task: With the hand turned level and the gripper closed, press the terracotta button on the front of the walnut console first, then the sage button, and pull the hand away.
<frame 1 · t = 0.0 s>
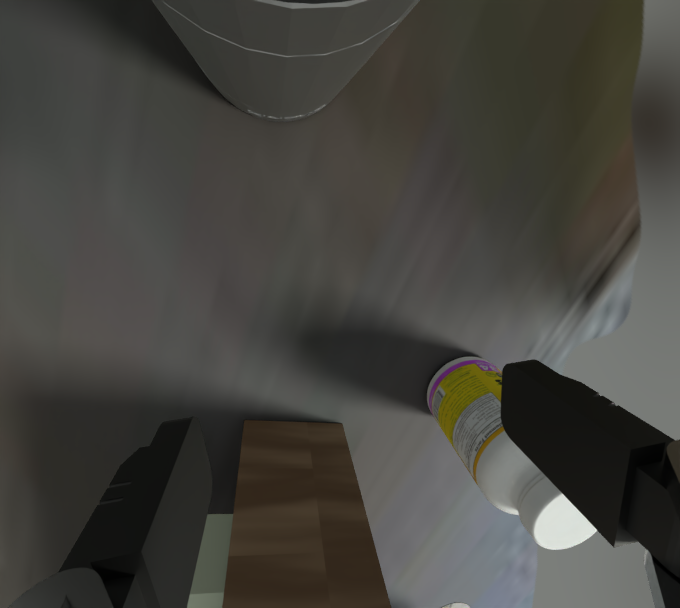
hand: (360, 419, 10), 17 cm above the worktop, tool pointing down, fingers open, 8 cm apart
button sage: (202, 578, 23), point 8 cm above the worktop, slide at 0.0 cm
supplement bottle: (459, 385, 32), on the worktop
console: (274, 545, 34), on the worktop
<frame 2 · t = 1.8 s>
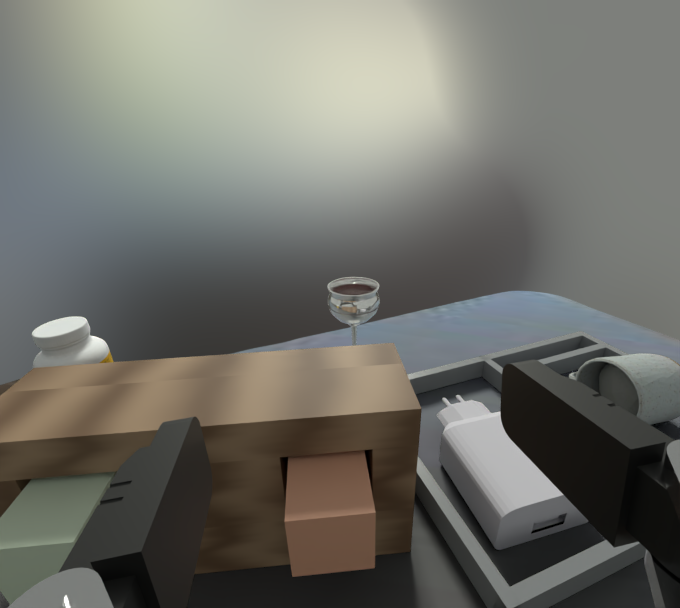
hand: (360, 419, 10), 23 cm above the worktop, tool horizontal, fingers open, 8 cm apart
ceramic mug: (610, 410, 42), resting in counter rail frame
counter rail frame: (554, 432, 39), on the worktop
button terracotta: (329, 506, 23), point 8 cm above the worktop, slide at 0.0 cm
button sage: (68, 531, 22), point 8 cm above the worktop, slide at 0.0 cm
wineglass: (354, 365, 52), on the worktop
supplement bottle: (99, 425, 43), on the worktop
charger: (487, 466, 36), resting in counter rail frame
console: (236, 520, 31), on the worktop
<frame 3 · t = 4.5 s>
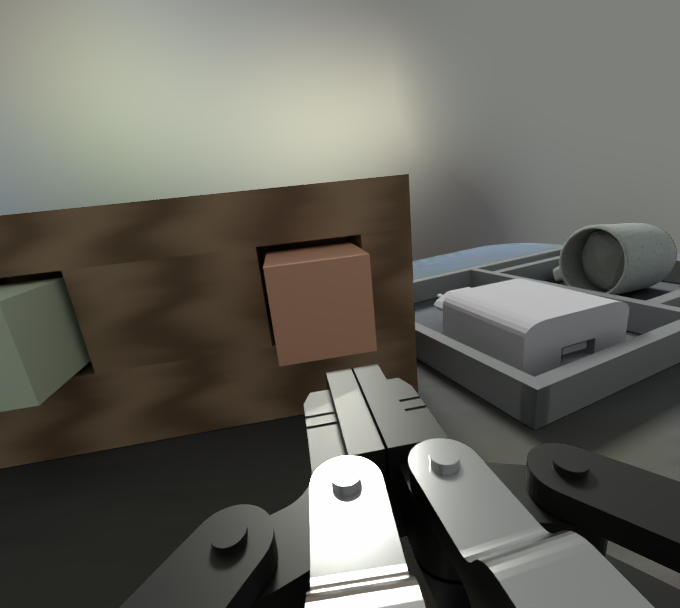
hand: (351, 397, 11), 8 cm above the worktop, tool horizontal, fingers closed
ceramic mug: (598, 291, 42), resting in counter rail frame
counter rail frame: (553, 308, 37), on the worktop
button terracotta: (318, 298, 20), point 8 cm above the worktop, slide at 0.0 cm
charger: (496, 341, 32), resting in counter rail frame
console: (214, 398, 27), on the worktop
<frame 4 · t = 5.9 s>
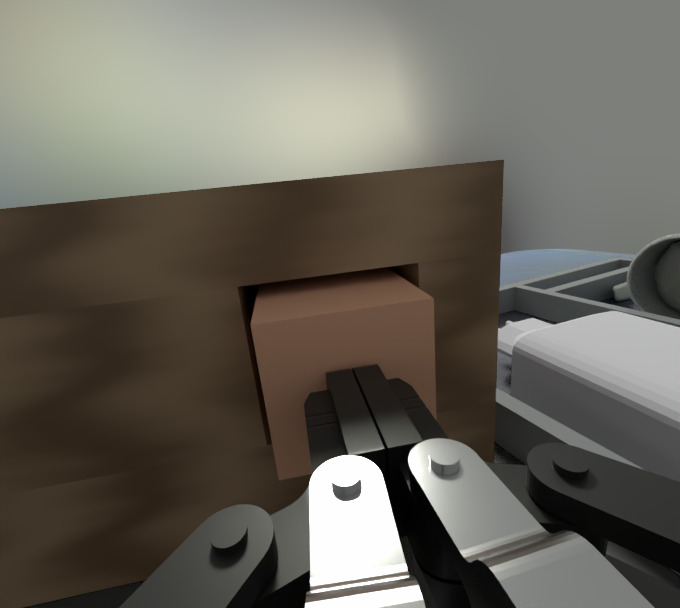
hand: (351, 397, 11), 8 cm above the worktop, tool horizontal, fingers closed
ceramic mug: (676, 315, 33), resting in counter rail frame
counter rail frame: (636, 343, 28), on the worktop
button terracotta: (339, 356, 13), point 8 cm above the worktop, slide at 1.6 cm, touching gripper
charger: (583, 400, 23), resting in counter rail frame
console: (182, 497, 18), on the worktop
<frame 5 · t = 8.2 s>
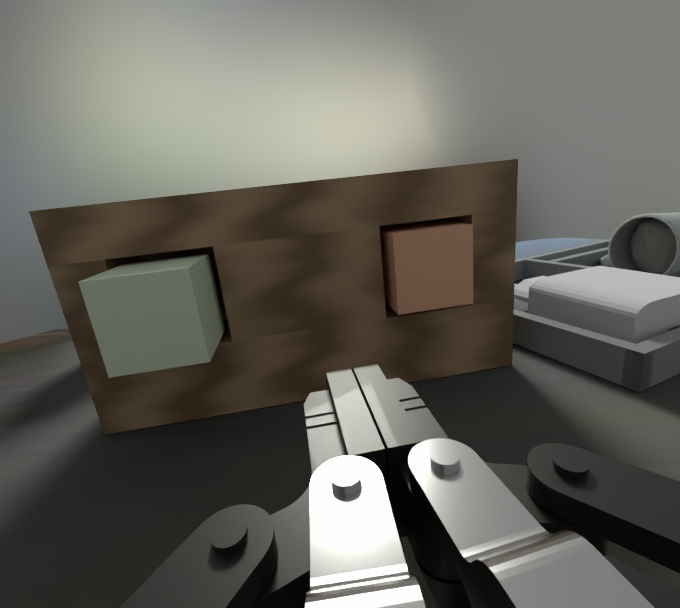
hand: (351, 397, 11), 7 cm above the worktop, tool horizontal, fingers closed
ceramic mug: (647, 278, 44), resting in counter rail frame
counter rail frame: (615, 294, 39), on the worktop
button terracotta: (420, 263, 25), point 8 cm above the worktop, slide at 2.9 cm
button sage: (163, 309, 20), point 8 cm above the worktop, slide at 0.0 cm
charger: (580, 328, 32), resting in counter rail frame
console: (315, 371, 29), on the worktop
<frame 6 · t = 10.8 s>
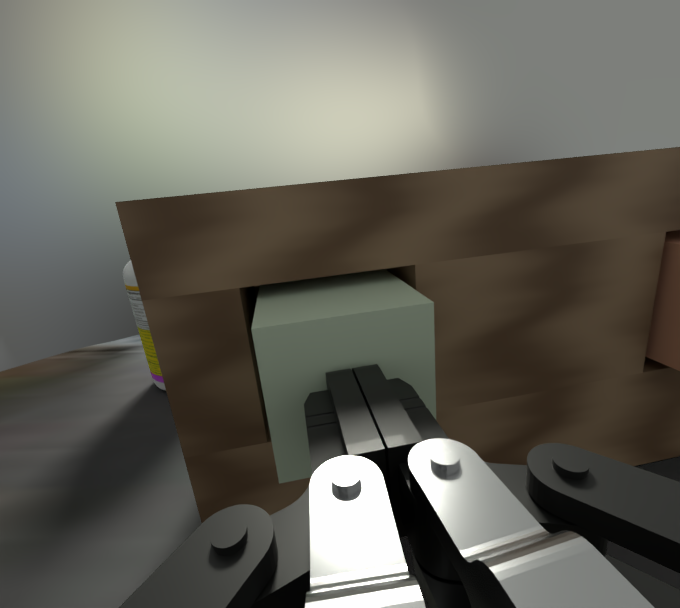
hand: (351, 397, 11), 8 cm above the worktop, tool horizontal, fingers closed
button sage: (339, 359, 13), point 8 cm above the worktop, slide at 1.3 cm, touching gripper
supplement bottle: (197, 376, 31), on the worktop
console: (482, 434, 20), on the worktop
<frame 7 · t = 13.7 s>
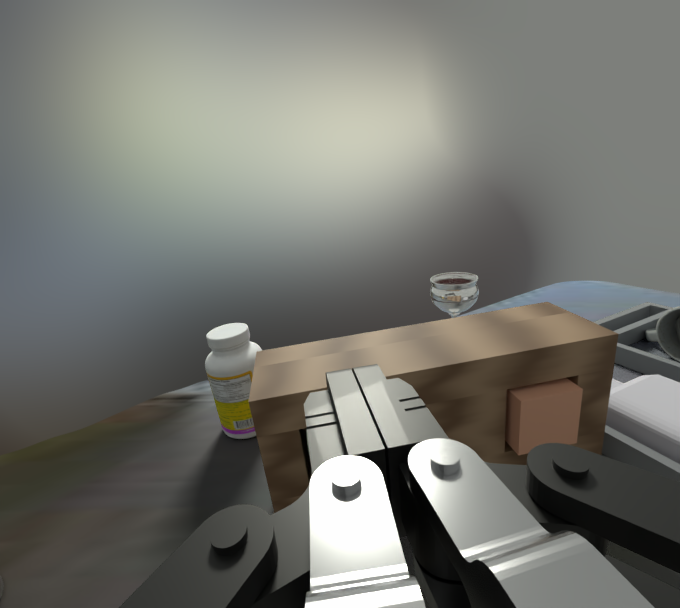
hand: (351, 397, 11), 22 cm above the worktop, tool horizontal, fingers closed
counter rail frame: (665, 380, 44), on the worktop
button terracotta: (529, 404, 31), point 8 cm above the worktop, slide at 2.9 cm
button sage: (341, 442, 29), point 8 cm above the worktop, slide at 2.9 cm
wineglass: (455, 353, 57), on the worktop
supplement bottle: (250, 425, 46), on the worktop
charger: (639, 431, 38), resting in counter rail frame
console: (429, 476, 35), on the worktop
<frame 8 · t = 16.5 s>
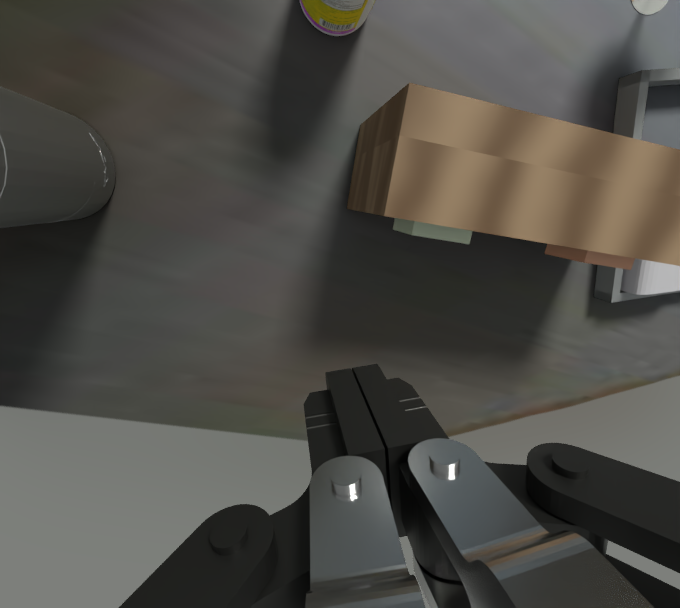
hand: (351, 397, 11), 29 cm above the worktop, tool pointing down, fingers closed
button terracotta: (594, 235, 34), point 8 cm above the worktop, slide at 2.9 cm
button sage: (435, 206, 31), point 8 cm above the worktop, slide at 2.9 cm
charger: (645, 221, 44), resting in counter rail frame
console: (479, 192, 39), on the worktop
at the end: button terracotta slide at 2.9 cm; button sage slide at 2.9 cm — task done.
